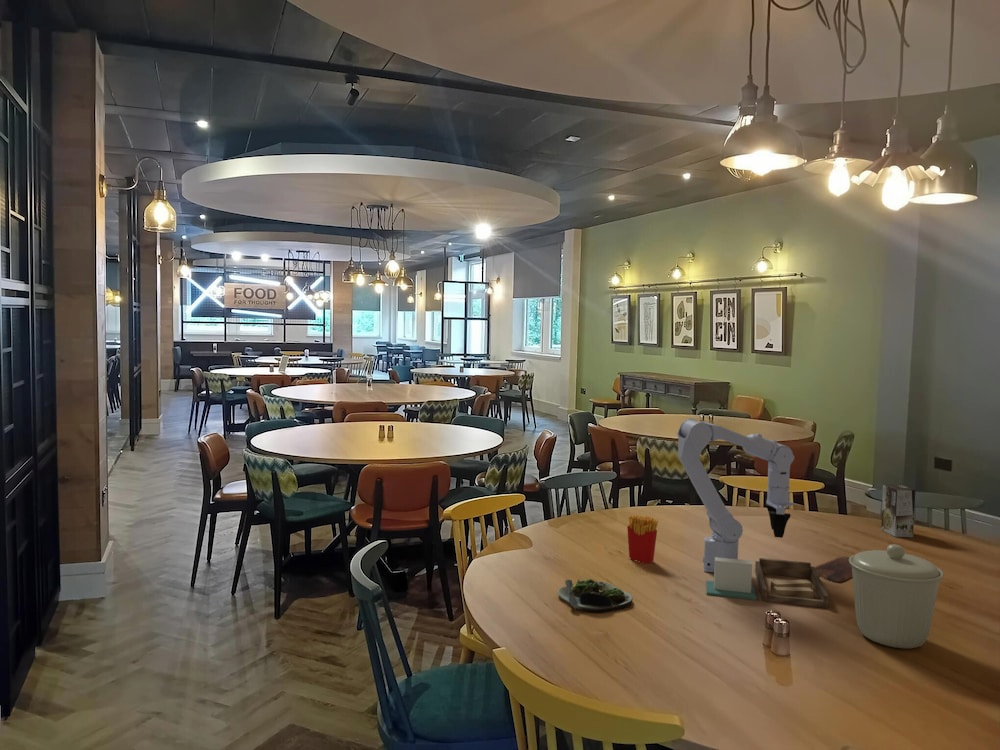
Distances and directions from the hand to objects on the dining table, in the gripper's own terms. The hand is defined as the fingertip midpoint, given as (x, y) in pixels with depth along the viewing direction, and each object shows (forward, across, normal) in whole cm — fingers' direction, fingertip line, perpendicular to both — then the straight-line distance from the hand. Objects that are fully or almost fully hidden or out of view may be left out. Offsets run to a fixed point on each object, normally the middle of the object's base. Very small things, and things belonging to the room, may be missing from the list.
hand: (777, 533), depth 198 cm
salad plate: (+10, -39, +46) cm, 62 cm away
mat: (+10, -22, +13) cm, 28 cm away
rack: (+10, -15, -2) cm, 19 cm away
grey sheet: (+10, -22, +13) cm, 27 cm away
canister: (+11, -41, -20) cm, 47 cm away
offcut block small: (+11, -23, -2) cm, 25 cm away
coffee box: (+11, +52, -44) cm, 69 cm away
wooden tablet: (+12, +7, -18) cm, 23 cm away
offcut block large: (+11, -20, -2) cm, 22 cm away
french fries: (+10, -4, +37) cm, 39 cm away
